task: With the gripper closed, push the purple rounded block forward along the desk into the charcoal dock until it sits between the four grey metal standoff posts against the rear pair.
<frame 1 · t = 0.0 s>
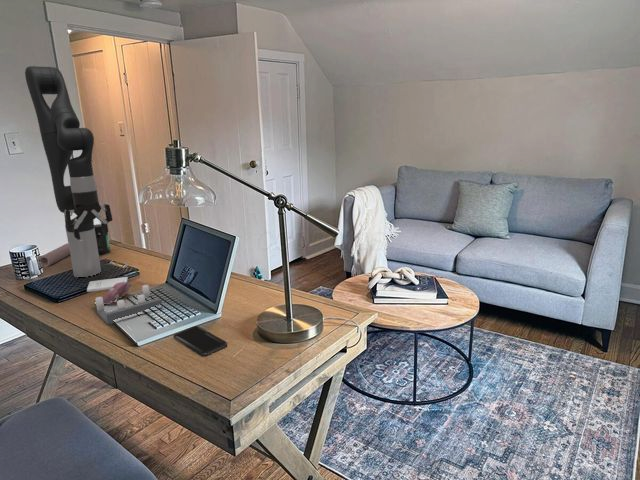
hand: (91, 236, 156), 17 cm above the table, tool pointing down, fingers open, 8 cm apart
dock: (128, 309, 140), on the table
phone: (200, 343, 121), on the table
pink brown cylinder: (58, 260, 187), on the table
purple rounded block: (117, 300, 148), on the table
supplement bottle: (101, 253, 195), on the table
external hard drive: (108, 287, 160), on the table
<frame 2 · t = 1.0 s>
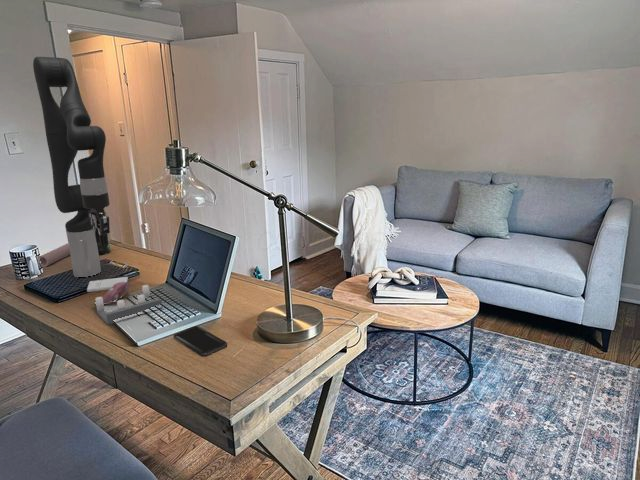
hand: (102, 243, 148), 17 cm above the table, tool pointing down, fingers open, 4 cm apart
nothing on the table moved.
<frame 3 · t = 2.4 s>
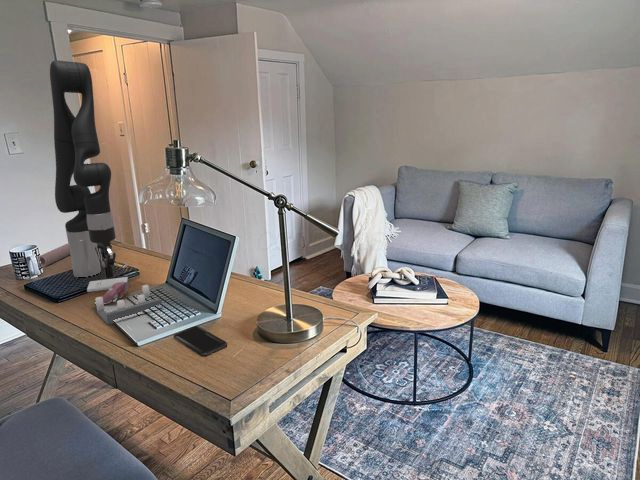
hand: (109, 276, 151), 6 cm above the table, tool pointing down, fingers closed
nothing on the table moved.
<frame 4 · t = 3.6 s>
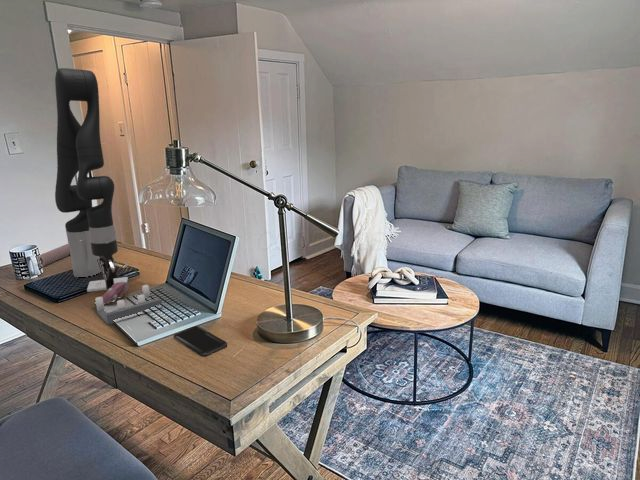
hand: (110, 289, 151), 2 cm above the table, tool pointing down, fingers closed
purple rounded block: (115, 300, 148), on the table, touching gripper
everything else where it was.
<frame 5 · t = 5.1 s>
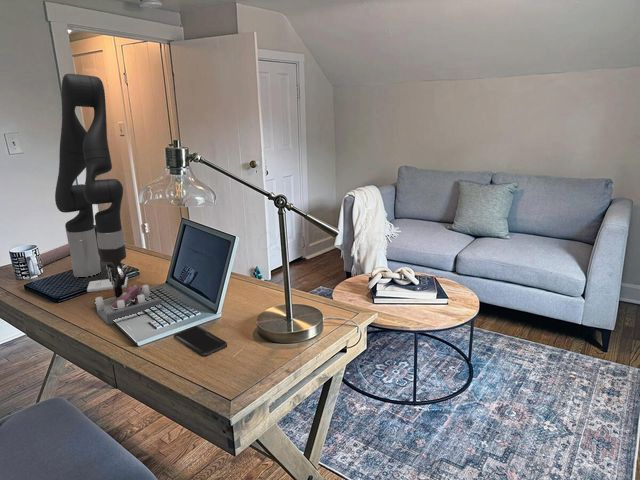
hand: (118, 296, 145), 2 cm above the table, tool pointing down, fingers closed
purple rounded block: (128, 304, 144), resting on dock, touching gripper
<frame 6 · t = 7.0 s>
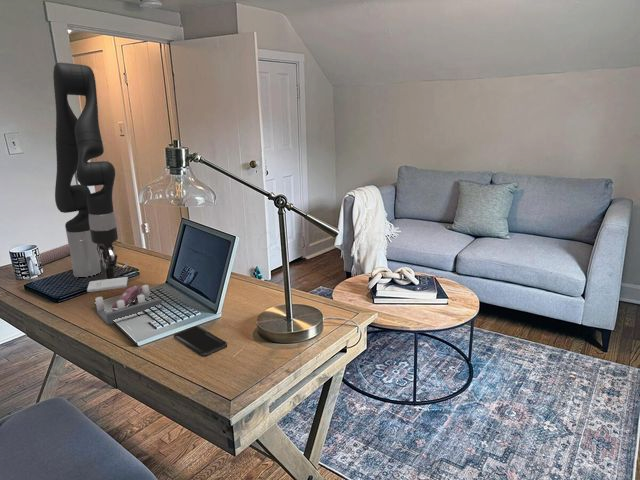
hand: (110, 278, 147), 7 cm above the table, tool pointing down, fingers closed
purple rounded block: (129, 305, 144), resting on dock
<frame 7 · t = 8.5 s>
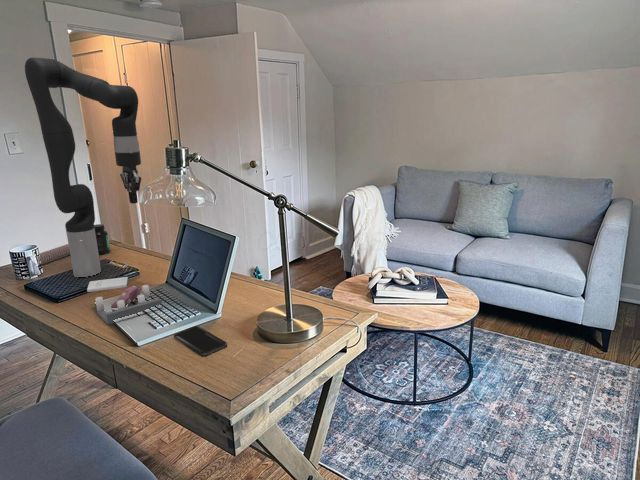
hand: (133, 202, 153), 29 cm above the table, tool pointing down, fingers closed
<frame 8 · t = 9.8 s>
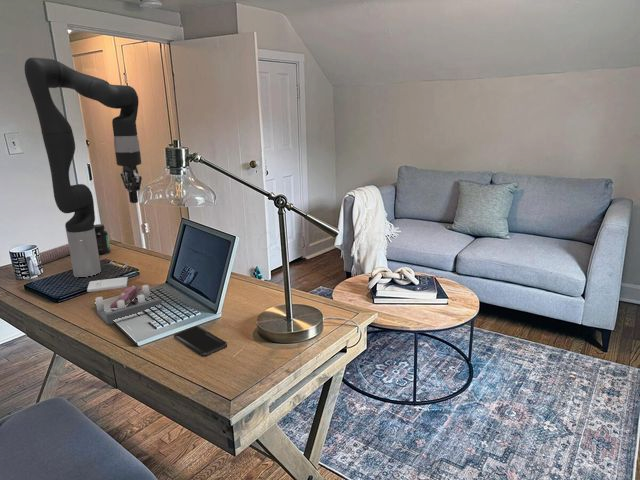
hand: (134, 202, 153), 29 cm above the table, tool pointing down, fingers closed
at the end: purple rounded block inside the target area on the dock (3.3 cm from its centre), point 0.0 cm above the dock's base; purple rounded block tilted 2° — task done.
